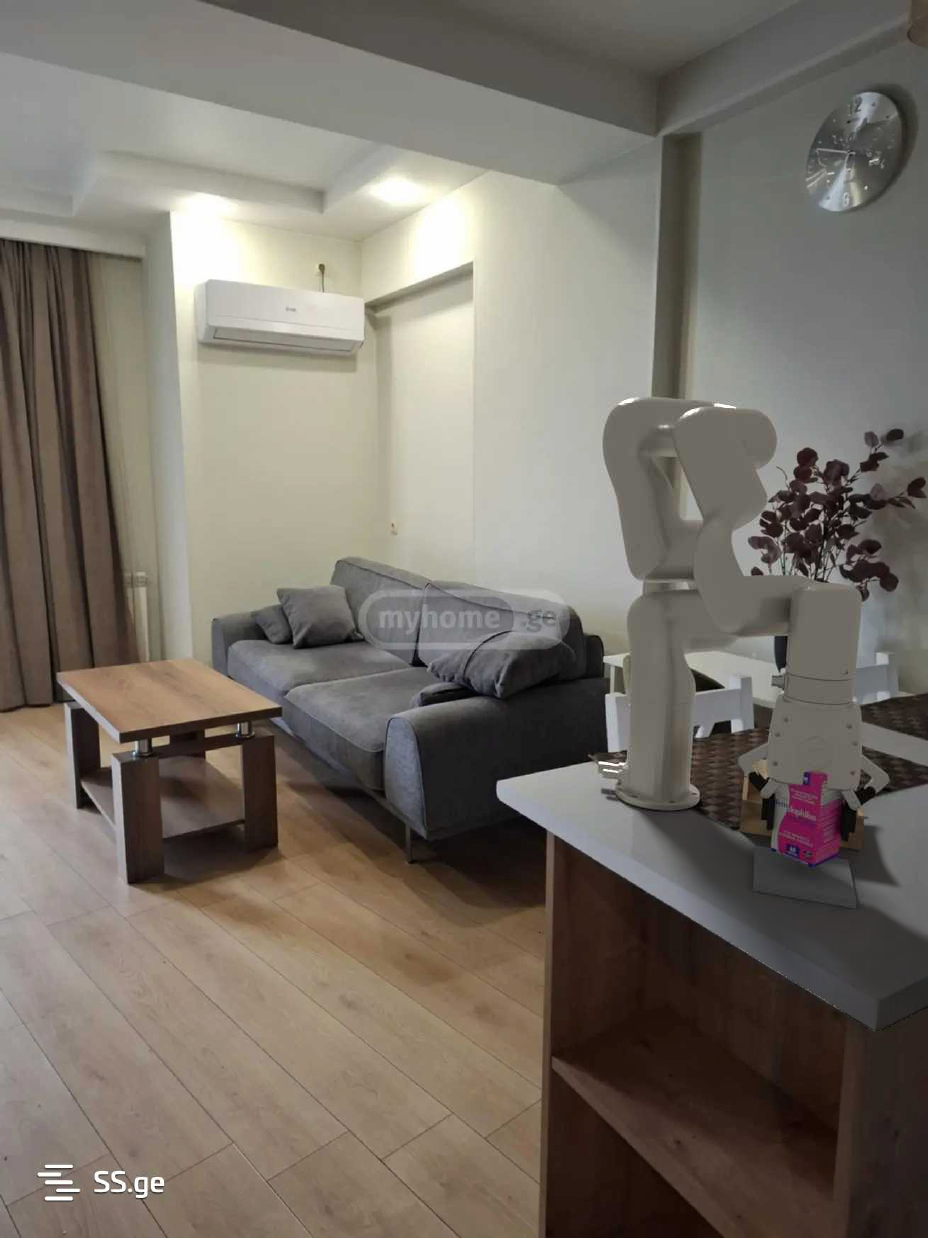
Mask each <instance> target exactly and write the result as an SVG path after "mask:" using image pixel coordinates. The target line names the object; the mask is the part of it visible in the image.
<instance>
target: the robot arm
mask: <svg viewBox="0 0 928 1238" xmlns="http://www.w3.org/2000/svg"><path fill="white" fill-rule="evenodd" d="M777 442H778V438H777V431H776V428H775V426H774V424H773V422H772V421H771V419H770V418H769V417H768V416H767V415H766V414H765V413H764V412H762V411H759V410H758V409H754V408H746V407H740V406H735V405H734V406H733V405H730V404H724V403H719V402H713V401H707V400H700V399H699V400H696V399H685V398H682V399H681V398H672V397H661V396H640V397H639V396H638V397H633V398H627V399H625V400H623V401H620V403H617V404H616V405H615V406H614V407H613V408H612V410H610V412H609V414H608V416H607V418H606V421H605V424H604V428H603V433H602V455H603V460H604V464H605V468H606V470H607V474H608V476H609V479H610V481H611V482H610V483H611V484H612V487H613V490H614V494H615V496H616V502H617V505H618V513H619V514H618V515H619V519H620V520H619V521H620V527H621V532H622V540H623V545H624V551H625V556H626V561H627V565H628V569H629V571H630V573H631V575H632V576H633V577H634V578H635V579H636V580H638V581H639V582H640V581H641V582H643V583H650V584H651V583H653V584H655V583H656V584H667V583H668V584H669V583H670V584H671V583H687V587H688V589H686V588H681V589H680V588H679V589H677V588H676V589H660V590H654V591H649V592H646V593H643V594H641V595H640V596H638V597H637V598H636V599H635V600H633V602H632V603H631V605H630V606H629V609H628V611H627V615H626V628H627V629H626V630H627V637H628V642H629V652H630V689H629V690H630V691H629V695H630V697H629V713H628V716H629V717H628V728H627V729H628V730H627V731H628V732H627V749H626V750H627V751H626V752H627V753H626V760H625V762H623V761H620V762H619V763H612V762H610V761H601V760H599V761H598V765H597V773H598V774H600V775H602V778H604V779H607V780H608V779H610V780H611V779H612V780H617V781H616V783H615V785H614V794H615V795H616V796H617V797H618V799H620V800H622V801H623V802H625V803H627V804H630V805H633V806H636V807H638V808H644V809H648V810H654V811H680V810H686V809H689V808H692V807H693V808H694V806H696V805H697V804H698V803H700V802H699V801H700V798H701V797H700V795H701V793H700V790H699V789H698V788H697V787H696V786H695V785H693V784H692V783H691V768H692V756H693V754H692V753H693V739H694V726H695V725H694V723H695V708H696V692H697V691H696V688H697V687H696V681H695V677H694V674H693V672H692V670H691V668H690V666H689V664H688V662H687V660H686V657H685V655H689V654H693V653H694V654H695V653H707V652H718V651H722V650H726V649H728V648H729V649H730V648H731V647H732V646H733V645H735V644H736V643H737V642H738V640H739V639H748V638H749V639H750V638H761V637H762V638H763V637H784V636H785V637H786V636H787V647H786V656H785V660H786V661H785V671H784V672H782V674H778V675H773V674H772V675H771V687H777V688H778V689H781V691H783V693H781V694H778V696H777V697H776V700H775V703H774V706H773V710H772V716H771V720H770V721H771V722H770V726H769V731H768V732H769V734H768V738H767V740H768V741H767V742H765V743H764V744H762V745H760V746H757V747H756V748H755V747H754V748H753V749H752V750H750V751H747V752H746V753H744V754H742V755H740V756H739V757H738V765H739V766H740V768H741V770H742V771H743V773H744V775H745V774H746V775H747V777H748V779H749V781H750V782H751V783H752V784H753V785H754V786H755V788H756V789H757V790H758V791H759V792H760V793H761V796H762V797H763V798H762V810H761V820H765V821H767V827H766V830H770V831H771V830H773V821H774V808H775V793H774V791H775V790H776V789H777V788H778V787H779V785H780V784H781V783H782V784H788V785H795V786H798V785H803V776H804V772H815V773H823V774H827V776H828V780H827V789H828V790H835V791H841V792H842V793H843V795H844V797H845V800H844V802H843V809H842V820H841V830H840V835H841V840H843V841H845V842H848V840H849V833H855V827H856V816H857V810H858V809H860V807H861V808H862V806H863V805H864V804H866V803H868V802H870V800H871V799H873V798H875V797H876V796H877V794H878V793H879V792H880V791H881V790H883V788H885V787H886V785H887V784H889V782H890V777H889V774H887V772H885V771H884V770H883V769H882V768H880V767H879V766H878V765H877V764H875V763H874V762H873V761H872V760H870V759H869V758H868V757H866V755H864V754H863V751H862V750H863V722H862V720H863V719H862V711H861V707H860V704H859V703H857V702H856V701H854V696H855V695H854V693H855V685H856V684H855V683H856V671H857V663H858V662H857V661H858V651H859V650H858V649H859V639H860V630H861V628H860V627H861V618H862V609H863V608H862V607H863V605H862V604H863V597H862V594H861V592H860V590H859V589H857V587H855V586H852V585H849V584H843V583H836V582H823V581H818V580H815V579H813V578H810V577H807V576H804V575H797V574H796V575H795V574H776V575H775V574H764V575H763V574H762V575H759V574H758V575H744V573H743V572H742V571H743V570H742V568H741V567H740V565H739V563H738V559H737V557H736V554H735V552H734V548H733V542H732V540H733V538H732V537H733V536H732V535H733V532H734V531H736V530H739V529H741V528H743V527H744V526H746V525H748V524H749V523H751V522H753V521H754V520H755V519H756V518H757V517H758V516H759V515H760V514H761V513H762V512H764V510H765V508H766V506H767V504H768V493H767V491H766V489H765V486H764V484H763V483H762V481H761V478H760V475H759V473H758V471H757V470H760V469H762V468H764V467H766V466H767V465H768V464H769V463H770V462H771V460H772V459H773V458H774V455H775V453H776V450H777V445H778V444H777ZM654 457H667V458H668V457H671V458H672V457H673V458H678V460H679V463H680V465H681V466H680V467H681V469H682V470H683V474H684V476H685V478H686V481H687V483H688V485H689V488H690V490H691V493H692V496H693V498H694V500H695V503H696V506H697V508H698V510H699V513H700V515H701V518H702V519H683V518H681V516H680V514H679V512H678V508H677V503H676V495H675V491H674V488H673V486H672V484H671V482H670V480H669V479H668V477H667V475H666V474H665V472H664V471H663V470H662V468H660V466H659V465H658V464H657V463H656V462H655V461H654ZM765 758H766V759H765ZM761 759H763V760H764V759H765V760H766V771H767V775H768V776H767V777H766V778H765V779H764V778H763V776H762V775H761V774H760V773H759V772H758V771H757V770H756V769H755V767H754V765H753V764H754V763H755V762H757V761H759V760H761ZM861 771H864V772H865V773H866V774H868V775H869V776H870V777H871V778H870V780H869V781H868V782H867V783H866V784H864V785H862V786H860V787H859V785H860V780H861V773H862V772H861ZM858 787H859V788H858ZM856 788H857V790H856V791H855V789H856Z"/></svg>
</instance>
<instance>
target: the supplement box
mask: <svg viewBox="0 0 928 1238" xmlns="http://www.w3.org/2000/svg"><path fill="white" fill-rule="evenodd" d="M827 780H828V776H827V774H823V773H815V772H804V776H803V785H798V786H795V785H788V784H782V783H781V784H780V785H779V787H778V788H777V789H776V793H775V808H774V821H773V830H772V836H771V841H770V848H771V851H773V852H775V853H779V854H781V855H784V856H786V857H788V858H791V859H793V860H796V861H798V862H800V863H803V864H805V865H807V866H809V867H812V868H814V867H816V866H818V865H820V864H822V863H824V862H827V861H829V860H831V859H833V858H838V857H839V850H840V849H839V848H840V847H839V841H840V830H841V820H842V809H843V799H844V795H843V793H842V792H841V791H835V790H828V789H827Z"/></svg>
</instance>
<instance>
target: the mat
mask: <svg viewBox="0 0 928 1238" xmlns="http://www.w3.org/2000/svg"><path fill="white" fill-rule="evenodd" d="M753 861H754V863H753V878H752V879H753V882H752V883H753V884H752V892H757V893H764V894H769V895H774V896H781V897H787V898H791V899H792V898H793V899H798V900H803V901H810V902H815V903H820V904H821V903H822V904H827V905H833V906H839V907H845V908H850V909H855V910H856V909H857V895H856V891H855V885H854V882H853V876H852V872H851V867H850V863H849V859H843V858H838V857H836V858H833V859H831V860H829V861H827V862H824V863H822V864H820V865H818V866H816V867H814V868H812V867H809V866H807V865H805V864H803V863H800V862H798V861H796V860H793V859H791V858H788V857H786V856H784V855H781V854H779V853H775V852H773V851H771V847H767V846H766V847H765V846H762V845H761V846H759V845H755V846H754V860H753Z"/></svg>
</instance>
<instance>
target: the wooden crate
mask: <svg viewBox="0 0 928 1238" xmlns="http://www.w3.org/2000/svg"><path fill="white" fill-rule="evenodd" d="M753 765H754V767H755V769H756V770H757V771H758V772H759V773H760V774H761V775H762V776H763V778H764V779H765V778H766V777H767V776H768V775H767V771H766V759H764V758H763V759H761V760H759V761H757V762H755V763H754V764H753ZM743 777H744V778H743V785H742V786H743V787H742V797H741V808H740V809H741V810H740V822H739V832H740V833H746V834H753V835H760V836H766V837H772V830H771V831H770V830H766V827H767V821H765V820H761V810H762V798H763V797H762V796H761V793H760V792H759V791H758V790H757V789H756V788H755V786H754V785H753V784H752V783H751V782H750V781H749V779H748V777H747V775H746V774H745V773H744V776H743ZM856 790H858V787H857V788H856V789H855V791H856ZM774 793H776V790H775V791H774ZM844 800H845V797H844V799H843V802H844ZM865 820H870V817H869V816H865V815H864V813H863V808H862V806H861V807H860V809H858V810H857V816H856V827H855V833H849V840H848V842H845V841H843V840H841V835H840V841H839V848H845V849H852V850H858V851H859V850H860V851H861V850H862V845H863V844H862V843H863V833H864V826H865V825H864V824H865V823H864V821H865Z"/></svg>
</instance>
